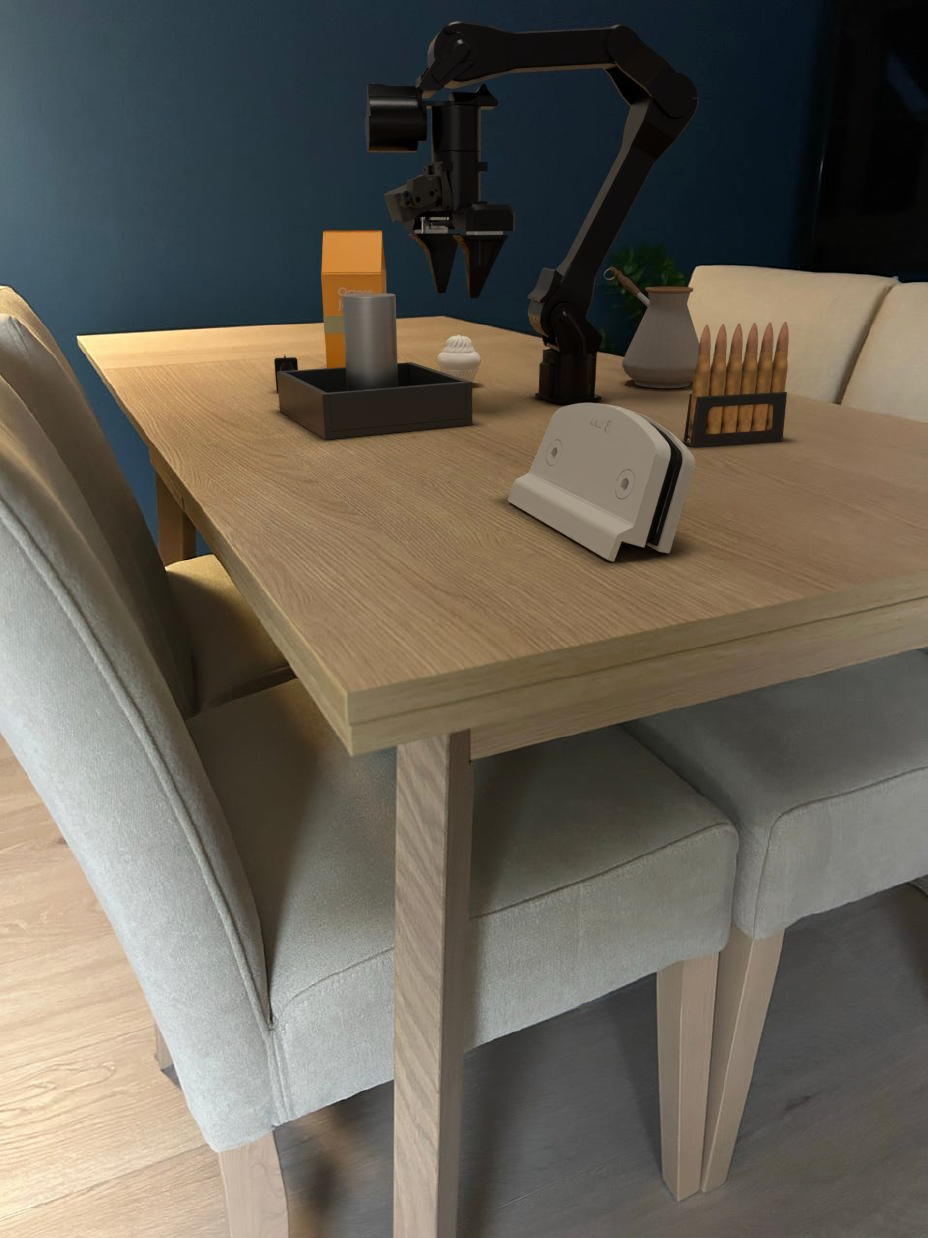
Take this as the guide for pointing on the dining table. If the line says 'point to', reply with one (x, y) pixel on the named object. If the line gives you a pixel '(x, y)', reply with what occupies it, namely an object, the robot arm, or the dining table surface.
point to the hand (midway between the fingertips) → (457, 295)
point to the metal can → (370, 340)
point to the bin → (374, 402)
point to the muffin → (459, 358)
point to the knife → (285, 365)
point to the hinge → (607, 479)
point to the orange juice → (348, 280)
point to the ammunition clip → (738, 390)
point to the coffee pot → (661, 338)
